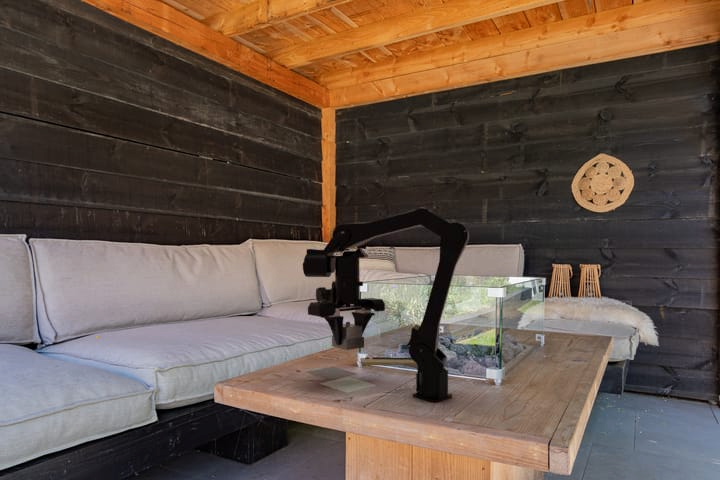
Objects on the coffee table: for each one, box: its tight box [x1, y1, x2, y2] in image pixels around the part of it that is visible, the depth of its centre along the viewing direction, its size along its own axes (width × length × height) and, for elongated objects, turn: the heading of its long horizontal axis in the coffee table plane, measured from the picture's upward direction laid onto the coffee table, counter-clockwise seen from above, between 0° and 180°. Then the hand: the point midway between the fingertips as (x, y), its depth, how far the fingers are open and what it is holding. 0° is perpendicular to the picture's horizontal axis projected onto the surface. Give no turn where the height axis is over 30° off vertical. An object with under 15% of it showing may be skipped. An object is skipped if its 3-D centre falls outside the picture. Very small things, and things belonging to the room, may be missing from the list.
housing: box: [331, 321, 365, 351], centre depth 112 cm, size 5×6×6 cm
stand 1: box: [306, 366, 358, 381], centre depth 121 cm, size 10×9×2 cm
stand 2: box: [319, 376, 378, 394], centre depth 111 cm, size 10×9×2 cm
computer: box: [360, 356, 418, 370], centre depth 134 cm, size 16×8×3 cm, turn 91°
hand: (347, 343), depth 112 cm, fingers closed on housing, 5 cm apart
